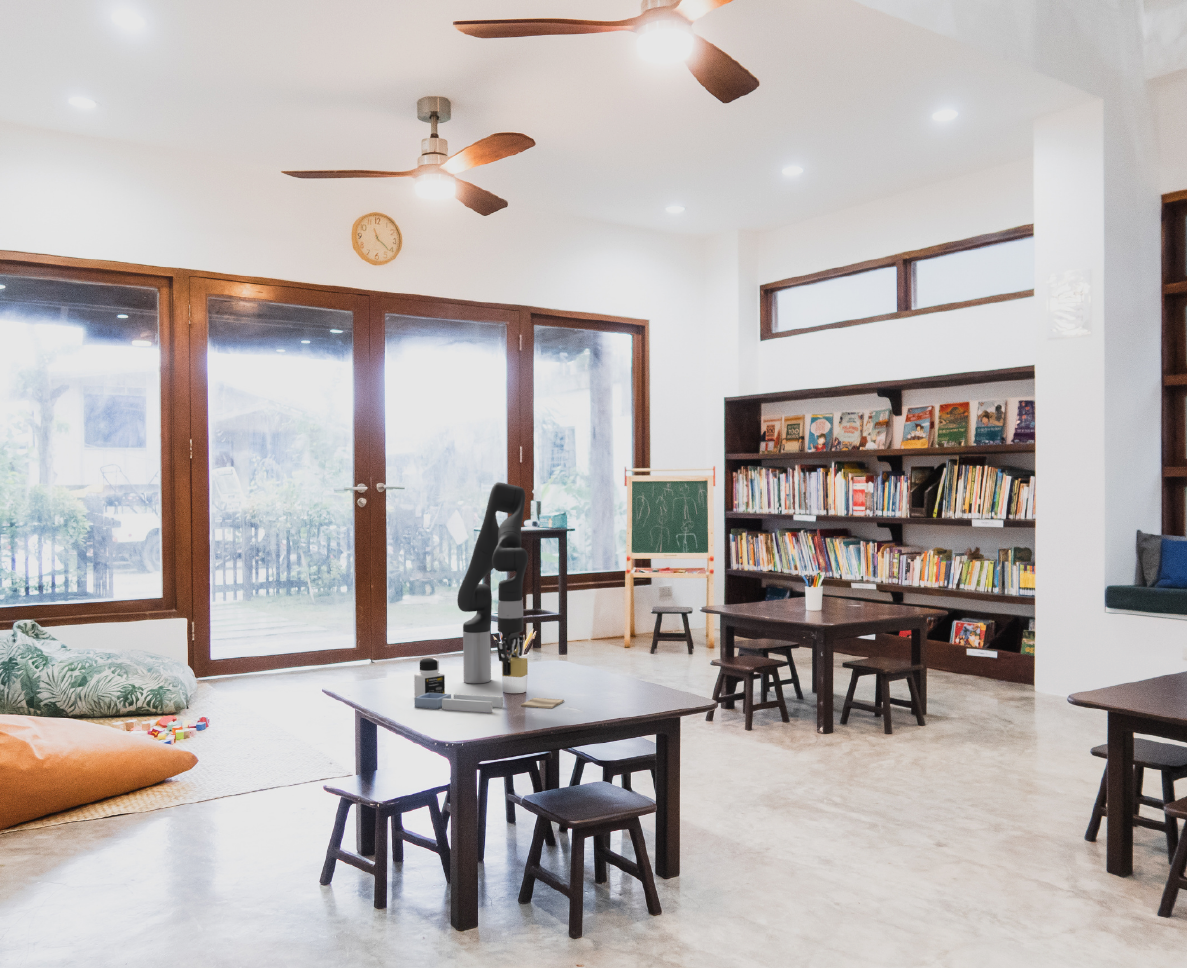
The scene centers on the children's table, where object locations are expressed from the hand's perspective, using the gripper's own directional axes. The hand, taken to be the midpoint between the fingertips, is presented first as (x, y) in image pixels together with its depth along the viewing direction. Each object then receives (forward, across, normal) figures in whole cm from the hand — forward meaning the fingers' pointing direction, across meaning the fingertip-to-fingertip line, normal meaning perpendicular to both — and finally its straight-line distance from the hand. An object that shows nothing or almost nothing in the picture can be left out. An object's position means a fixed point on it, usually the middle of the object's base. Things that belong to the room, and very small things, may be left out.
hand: (510, 673), depth 276 cm
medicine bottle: (+12, +11, +34) cm, 37 cm away
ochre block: (+1, 0, -1) cm, 1 cm away
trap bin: (+11, 0, +26) cm, 28 cm away
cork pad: (+11, +11, -6) cm, 16 cm away
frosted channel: (+11, 0, +12) cm, 17 cm away
